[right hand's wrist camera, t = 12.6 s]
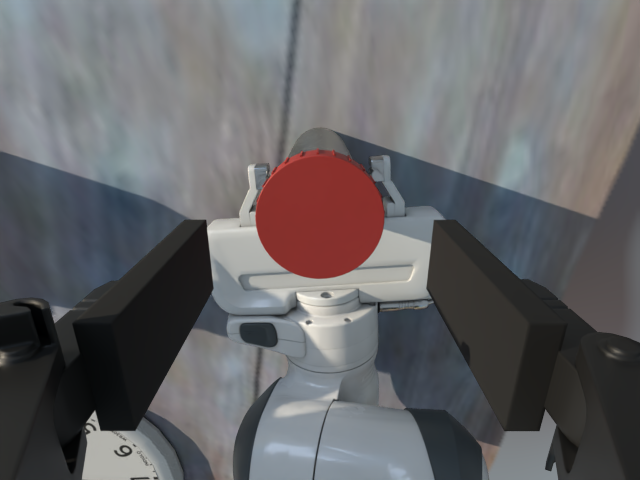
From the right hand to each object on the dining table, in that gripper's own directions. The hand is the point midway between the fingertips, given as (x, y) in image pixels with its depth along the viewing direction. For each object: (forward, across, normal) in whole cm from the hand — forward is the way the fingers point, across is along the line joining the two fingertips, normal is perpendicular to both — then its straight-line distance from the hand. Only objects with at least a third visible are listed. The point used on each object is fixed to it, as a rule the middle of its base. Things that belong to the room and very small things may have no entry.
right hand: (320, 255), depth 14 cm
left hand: (+17, 0, -1) cm, 17 cm away
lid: (+4, 0, 0) cm, 4 cm away
